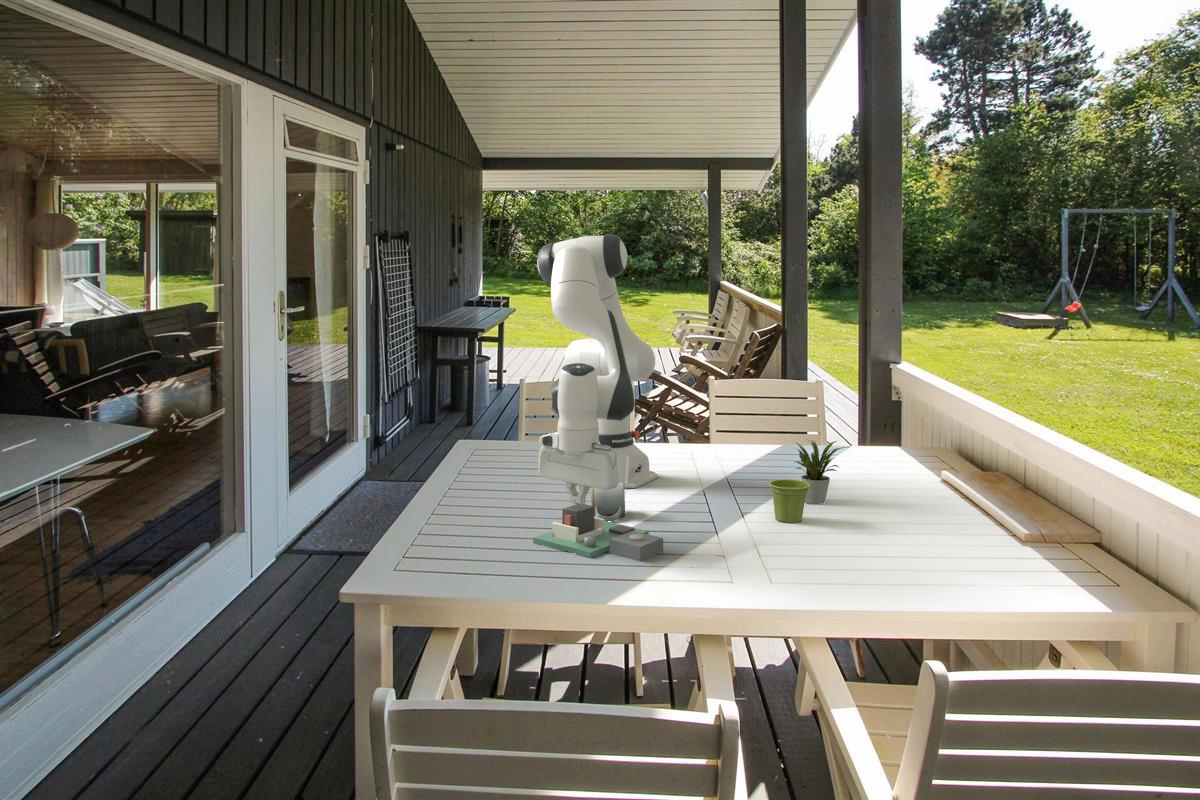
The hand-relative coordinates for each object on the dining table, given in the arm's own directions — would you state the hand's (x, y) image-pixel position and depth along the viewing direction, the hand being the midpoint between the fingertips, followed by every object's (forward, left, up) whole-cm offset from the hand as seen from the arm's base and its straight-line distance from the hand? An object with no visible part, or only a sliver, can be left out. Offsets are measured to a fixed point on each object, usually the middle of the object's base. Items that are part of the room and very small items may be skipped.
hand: (577, 503), depth 207 cm
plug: (0, 0, -7) cm, 7 cm away
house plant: (-64, +25, -8) cm, 69 cm away
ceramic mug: (-20, -7, -9) cm, 22 cm away
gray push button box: (-1, +15, -8) cm, 17 cm away
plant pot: (-44, +27, -8) cm, 52 cm away
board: (-2, +2, -8) cm, 9 cm away
